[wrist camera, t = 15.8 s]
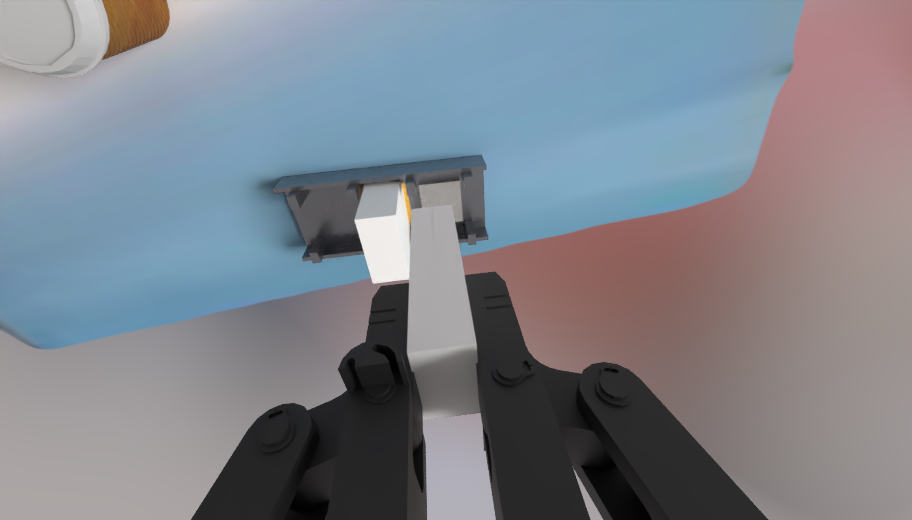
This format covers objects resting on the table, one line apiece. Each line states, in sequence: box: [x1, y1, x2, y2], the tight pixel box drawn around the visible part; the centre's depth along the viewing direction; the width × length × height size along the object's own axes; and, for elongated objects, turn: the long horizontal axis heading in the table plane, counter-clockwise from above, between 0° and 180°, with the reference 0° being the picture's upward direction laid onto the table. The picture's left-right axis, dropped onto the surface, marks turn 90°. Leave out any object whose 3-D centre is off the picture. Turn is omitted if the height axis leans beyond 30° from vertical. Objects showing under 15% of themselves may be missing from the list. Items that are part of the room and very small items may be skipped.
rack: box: [273, 155, 488, 263], centre depth 42 cm, size 24×11×5 cm, turn 95°
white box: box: [354, 179, 411, 283], centre depth 39 cm, size 4×8×10 cm, turn 5°
